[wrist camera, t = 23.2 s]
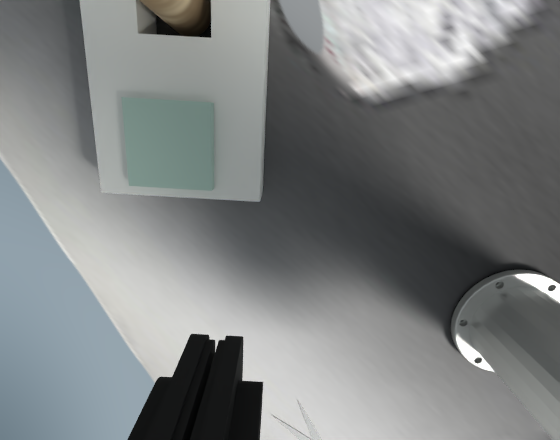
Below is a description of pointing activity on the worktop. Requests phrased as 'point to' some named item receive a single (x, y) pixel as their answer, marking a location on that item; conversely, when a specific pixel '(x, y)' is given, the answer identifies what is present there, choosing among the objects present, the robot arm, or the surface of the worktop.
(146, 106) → the latch flap
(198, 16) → the dowel
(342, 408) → the worktop surface
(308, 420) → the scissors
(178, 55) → the block
